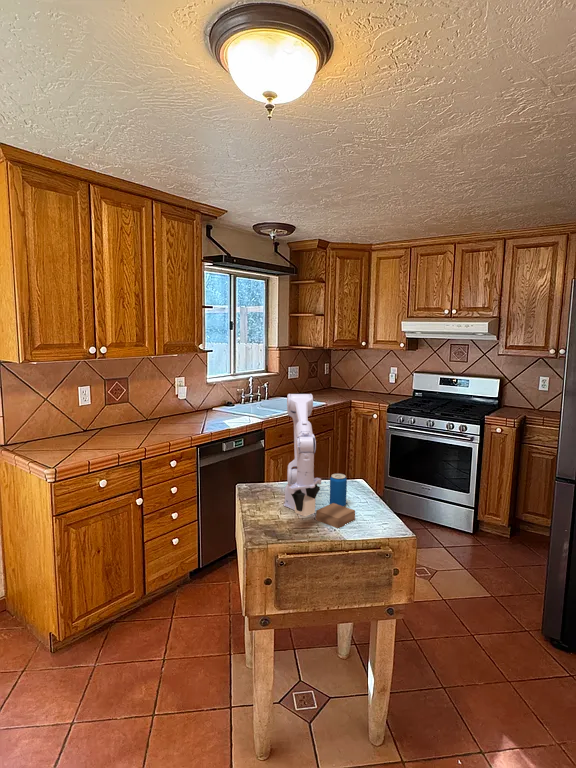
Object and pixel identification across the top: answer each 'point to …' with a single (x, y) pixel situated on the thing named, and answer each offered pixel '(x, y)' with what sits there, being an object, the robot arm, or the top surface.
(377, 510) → the top surface
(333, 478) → the beverage can
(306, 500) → the cube
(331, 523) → the walnut box
